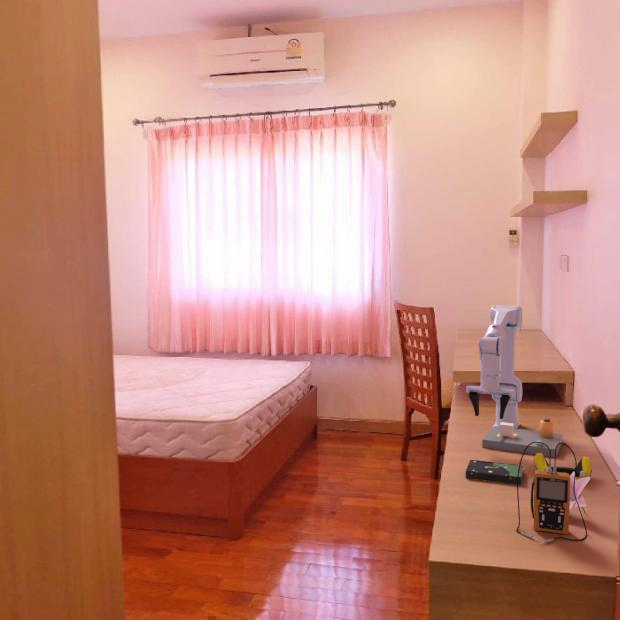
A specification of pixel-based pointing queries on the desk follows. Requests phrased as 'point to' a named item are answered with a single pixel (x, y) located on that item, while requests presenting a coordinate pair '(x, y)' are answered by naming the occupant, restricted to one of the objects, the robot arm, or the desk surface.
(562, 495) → the multimeter
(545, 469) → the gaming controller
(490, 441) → the panel
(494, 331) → the robot arm
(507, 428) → the lever
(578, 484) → the lily
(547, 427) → the cap
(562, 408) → the desk surface
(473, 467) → the disk drive
